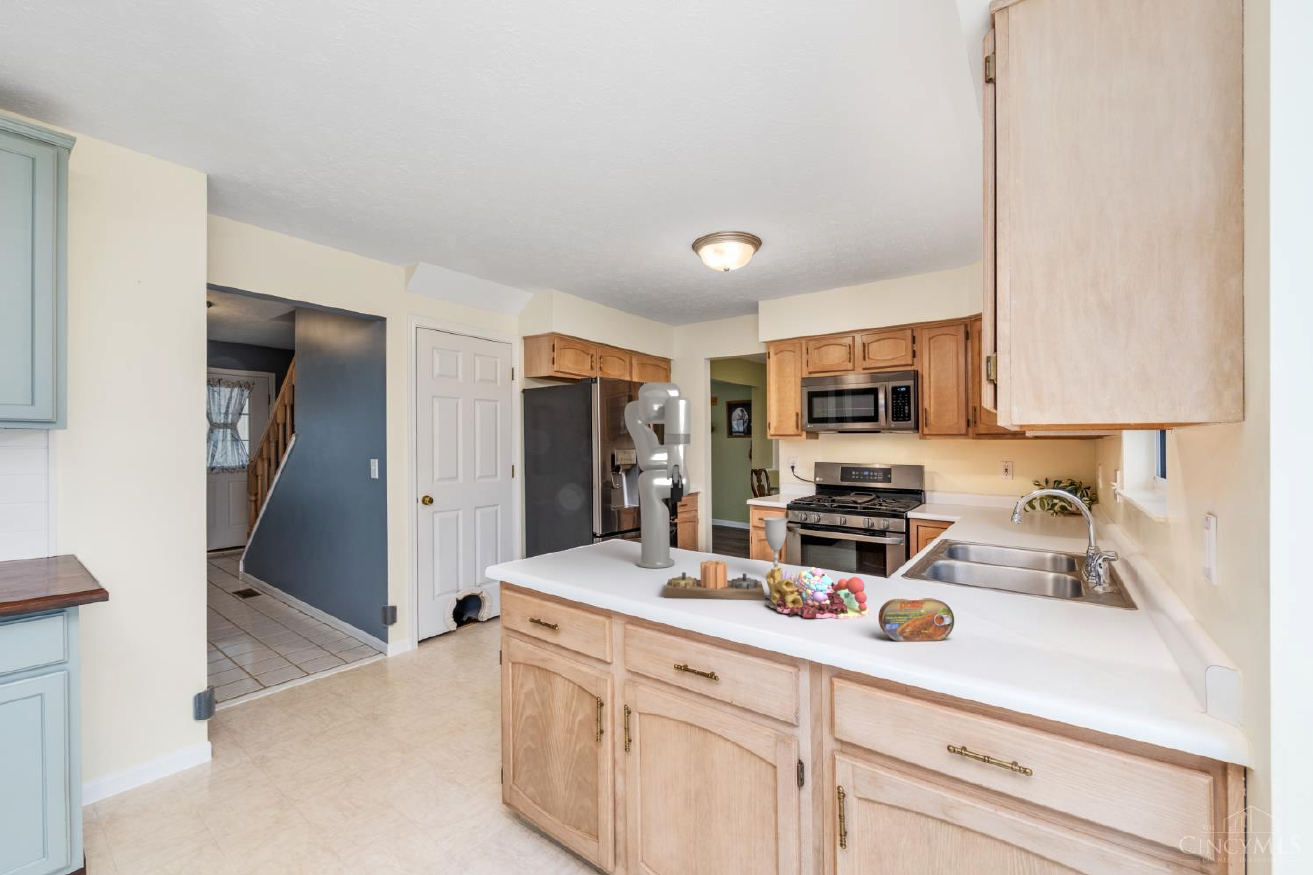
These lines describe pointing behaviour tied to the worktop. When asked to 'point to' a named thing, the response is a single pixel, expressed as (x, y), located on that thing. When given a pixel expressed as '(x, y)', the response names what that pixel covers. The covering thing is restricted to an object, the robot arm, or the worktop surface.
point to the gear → (714, 574)
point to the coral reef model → (816, 595)
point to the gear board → (714, 589)
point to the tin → (916, 619)
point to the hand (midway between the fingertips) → (677, 499)
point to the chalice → (775, 534)
